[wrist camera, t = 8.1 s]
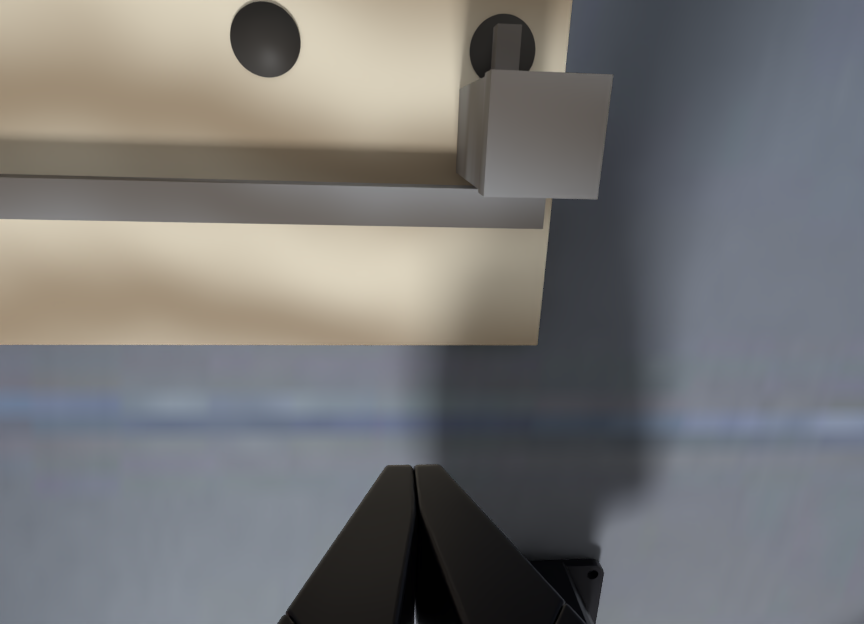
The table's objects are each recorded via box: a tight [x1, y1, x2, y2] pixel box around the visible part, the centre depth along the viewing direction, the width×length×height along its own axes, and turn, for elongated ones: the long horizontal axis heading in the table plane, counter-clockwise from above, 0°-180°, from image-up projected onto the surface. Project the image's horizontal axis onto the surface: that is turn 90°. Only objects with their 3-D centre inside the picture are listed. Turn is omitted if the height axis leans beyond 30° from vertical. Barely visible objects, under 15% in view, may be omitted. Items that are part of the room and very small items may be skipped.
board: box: [0, 0, 613, 345], centre depth 14 cm, size 14×25×7 cm, turn 88°
